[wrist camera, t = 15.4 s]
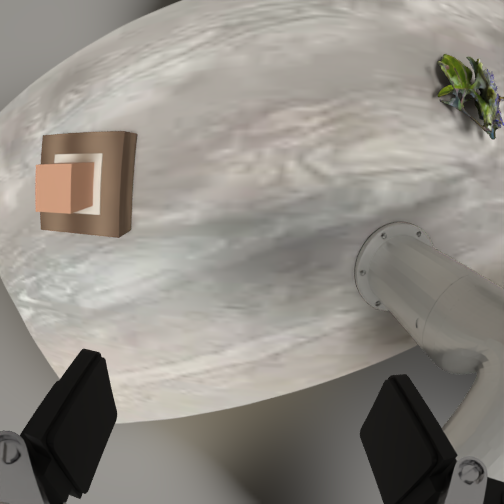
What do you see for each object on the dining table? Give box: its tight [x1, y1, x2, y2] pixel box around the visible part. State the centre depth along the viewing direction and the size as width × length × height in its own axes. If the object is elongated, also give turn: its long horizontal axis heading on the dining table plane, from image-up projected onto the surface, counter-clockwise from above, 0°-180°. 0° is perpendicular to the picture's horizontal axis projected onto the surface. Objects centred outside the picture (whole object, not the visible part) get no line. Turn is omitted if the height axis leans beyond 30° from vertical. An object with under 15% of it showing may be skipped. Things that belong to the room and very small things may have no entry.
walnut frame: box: [40, 131, 137, 238], centre depth 32 cm, size 12×12×4 cm
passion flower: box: [437, 54, 504, 139], centre depth 27 cm, size 11×11×12 cm
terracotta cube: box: [35, 162, 94, 214], centre depth 27 cm, size 5×5×5 cm
